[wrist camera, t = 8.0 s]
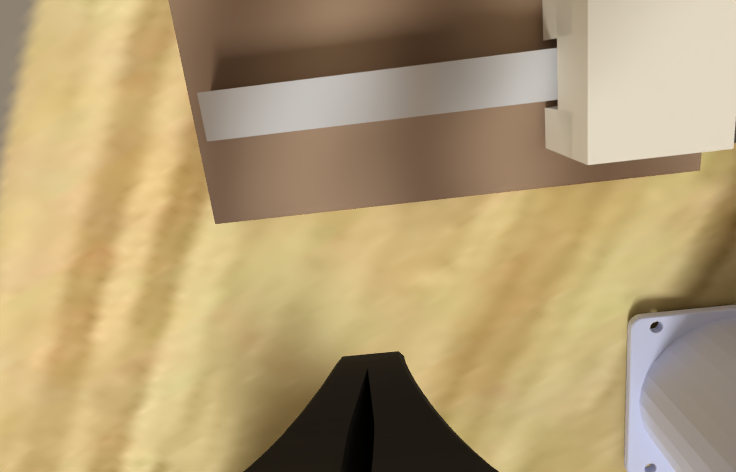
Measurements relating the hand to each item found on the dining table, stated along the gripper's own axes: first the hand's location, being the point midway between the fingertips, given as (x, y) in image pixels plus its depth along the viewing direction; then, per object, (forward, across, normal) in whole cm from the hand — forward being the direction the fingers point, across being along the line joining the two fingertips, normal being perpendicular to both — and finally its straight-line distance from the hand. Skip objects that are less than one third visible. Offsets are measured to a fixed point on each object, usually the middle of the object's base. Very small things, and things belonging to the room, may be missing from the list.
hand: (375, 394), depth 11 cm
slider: (+9, -8, -6) cm, 14 cm away
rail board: (+10, -3, -6) cm, 12 cm away
